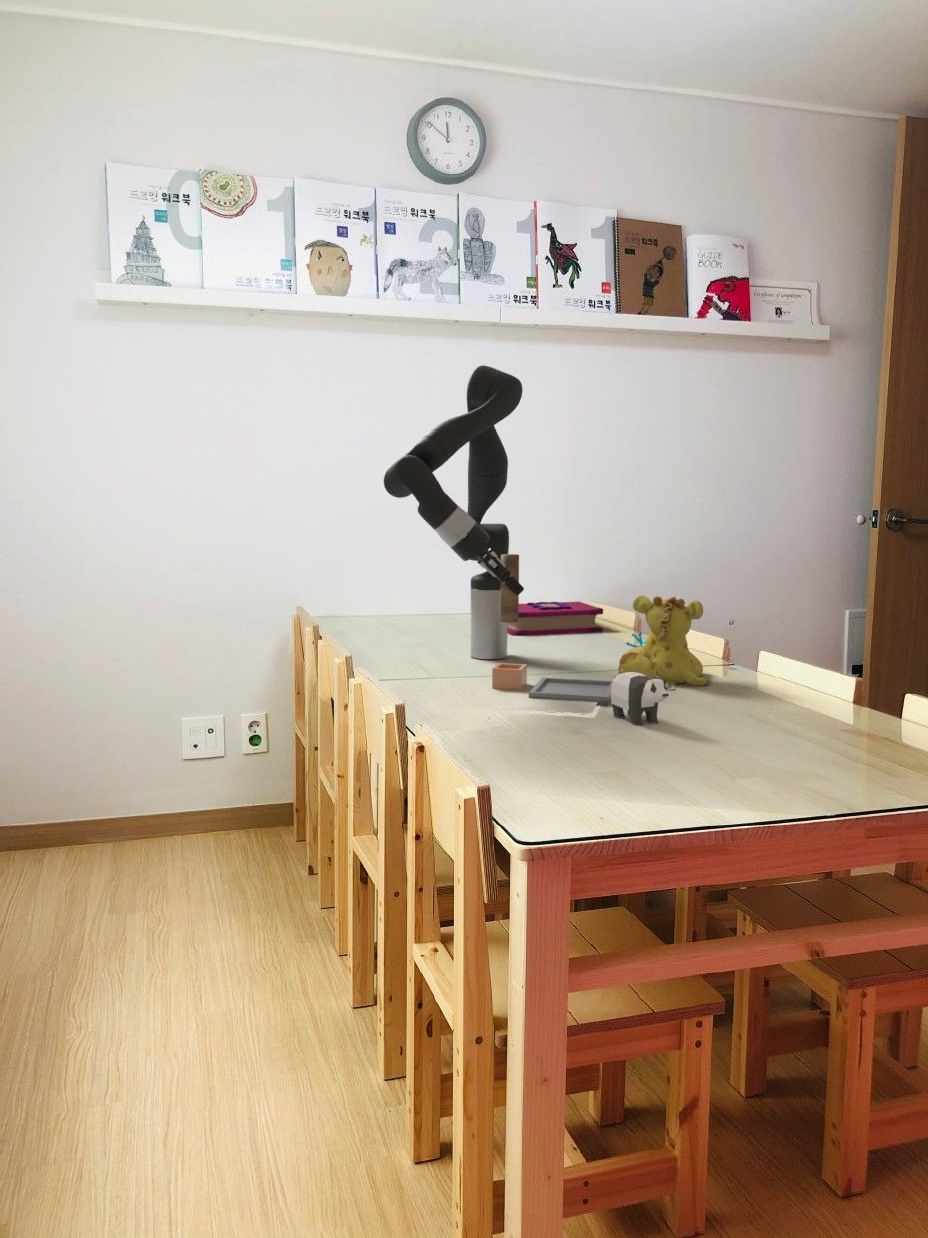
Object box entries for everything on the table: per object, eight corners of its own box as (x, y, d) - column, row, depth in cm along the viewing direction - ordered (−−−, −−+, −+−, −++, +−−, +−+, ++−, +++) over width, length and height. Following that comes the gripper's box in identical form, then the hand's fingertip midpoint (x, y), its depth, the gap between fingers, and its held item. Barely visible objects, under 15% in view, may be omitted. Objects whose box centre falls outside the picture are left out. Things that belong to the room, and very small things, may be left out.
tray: (542, 685, 220) (542, 677, 220) (616, 689, 216) (616, 681, 216) (528, 701, 205) (528, 692, 205) (608, 705, 201) (608, 696, 201)
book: (490, 626, 307) (491, 601, 306) (577, 623, 315) (577, 598, 314) (512, 637, 287) (512, 610, 286) (604, 633, 295) (604, 607, 293)
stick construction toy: (626, 653, 246) (631, 626, 250) (618, 665, 252) (623, 638, 256) (673, 667, 247) (678, 640, 250) (664, 678, 253) (668, 651, 256)
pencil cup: (498, 685, 220) (498, 663, 219) (526, 687, 218) (526, 664, 217) (492, 691, 214) (492, 668, 213) (521, 693, 212) (521, 669, 212)
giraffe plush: (694, 669, 239) (697, 588, 237) (725, 690, 216) (728, 600, 213) (608, 670, 238) (610, 588, 236) (630, 691, 215) (632, 601, 212)
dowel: (502, 619, 216) (503, 553, 214) (520, 620, 215) (520, 554, 213) (498, 622, 213) (499, 555, 210) (516, 622, 212) (517, 555, 210)
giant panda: (607, 715, 194) (608, 665, 192) (631, 712, 196) (632, 663, 195) (652, 732, 180) (653, 680, 179) (677, 729, 183) (679, 677, 181)
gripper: (446, 543, 217) (502, 599, 220) (451, 549, 203) (511, 608, 206) (471, 518, 217) (526, 574, 220) (478, 522, 203) (537, 582, 206)
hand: (518, 590), depth 213 cm, fingers closed on dowel, 3 cm apart
